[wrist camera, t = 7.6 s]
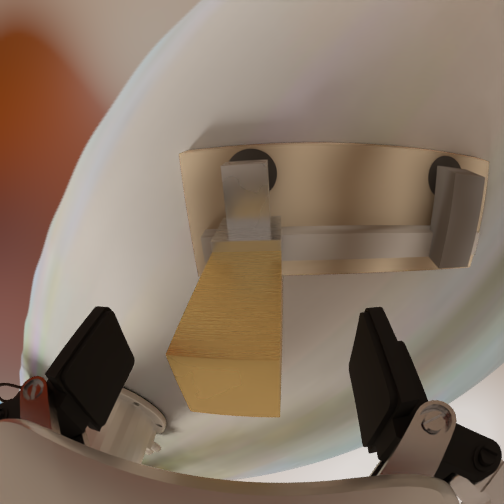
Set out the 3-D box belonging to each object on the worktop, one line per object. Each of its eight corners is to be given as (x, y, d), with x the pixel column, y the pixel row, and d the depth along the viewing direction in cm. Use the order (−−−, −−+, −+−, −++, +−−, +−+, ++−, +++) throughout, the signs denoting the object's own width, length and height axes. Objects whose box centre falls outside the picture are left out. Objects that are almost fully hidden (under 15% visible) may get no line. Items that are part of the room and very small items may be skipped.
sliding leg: (278, 155, 14) (275, 225, 5) (282, 271, 17) (279, 423, 8) (221, 158, 14) (126, 232, 5) (234, 272, 17) (194, 417, 8)
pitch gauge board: (477, 157, 14) (513, 171, 10) (460, 257, 17) (487, 286, 13) (187, 150, 16) (160, 161, 12) (203, 265, 20) (187, 300, 16)
